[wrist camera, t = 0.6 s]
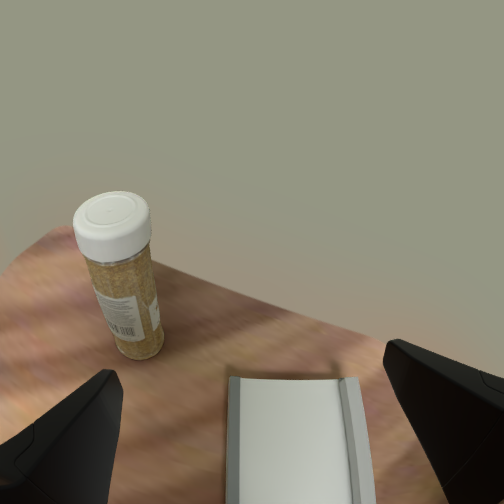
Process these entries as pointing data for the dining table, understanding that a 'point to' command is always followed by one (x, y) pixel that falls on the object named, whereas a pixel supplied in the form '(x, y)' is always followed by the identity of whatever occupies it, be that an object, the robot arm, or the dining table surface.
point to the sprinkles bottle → (122, 269)
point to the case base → (297, 443)
